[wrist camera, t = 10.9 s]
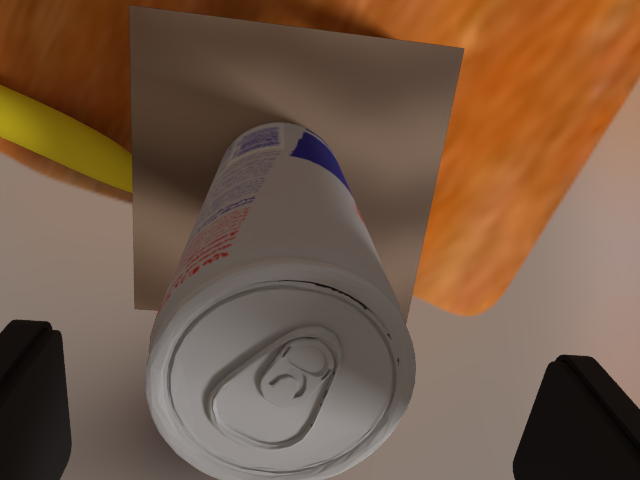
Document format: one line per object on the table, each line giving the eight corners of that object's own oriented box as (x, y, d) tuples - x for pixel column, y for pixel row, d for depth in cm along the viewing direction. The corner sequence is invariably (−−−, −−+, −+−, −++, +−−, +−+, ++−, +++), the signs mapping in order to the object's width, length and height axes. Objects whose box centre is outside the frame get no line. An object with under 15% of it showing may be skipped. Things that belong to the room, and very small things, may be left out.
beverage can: (223, 239, 25) (153, 506, 11) (214, 121, 23) (114, 269, 9) (339, 235, 25) (412, 489, 11) (341, 119, 23) (433, 259, 9)
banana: (180, 199, 34) (159, 236, 29) (-135, 68, 30) (-235, 79, 24) (196, 160, 33) (178, 190, 28) (-127, 19, 29) (-228, 18, 23)
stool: (174, 10, 30) (128, 5, 21) (410, 40, 32) (464, 48, 22) (171, 234, 35) (134, 309, 26) (373, 250, 37) (405, 326, 28)
